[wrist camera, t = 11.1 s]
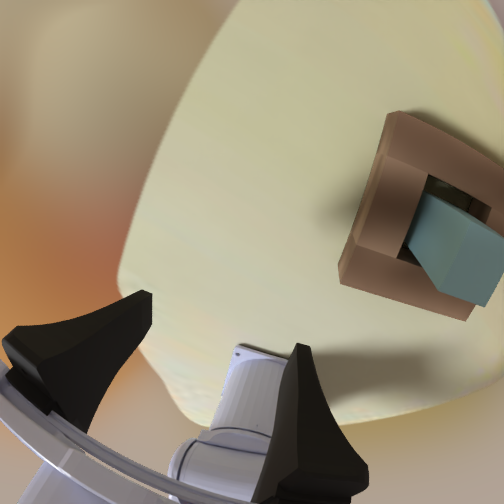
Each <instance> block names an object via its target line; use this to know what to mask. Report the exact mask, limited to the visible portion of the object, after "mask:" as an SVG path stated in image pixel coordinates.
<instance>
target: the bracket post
mask: <svg viewBox="0 0 504 504" xmlns="http://www.w3.org/2000/svg"><path fill="white" fill-rule="evenodd" d="M404 242H405V243H406V244H407V246H408V247H409V249H410V250H411V251H412V253H413V254H414V256H415V257H416V258H417V260H418V261H419V263H420V264H421V266H422V267H423V269H424V270H425V271H426V273H427V274H428V276H429V278H430V279H431V281H432V282H433V284H434V285H435V287H436V288H437V290H438V291H439V292H442V293H445V294H448V295H451V296H454V297H457V298H460V299H462V300H465V301H468V302H471V303H474V304H476V305H479V306H482V307H485V306H486V304H487V302H488V301H489V299H490V297H491V295H492V294H493V292H494V290H495V288H496V286H497V284H498V282H499V281H500V279H501V277H502V275H503V273H504V237H502V236H501V235H500V234H498V233H497V232H496V231H494V230H493V229H491V228H490V227H488V226H487V225H485V224H484V223H482V222H481V221H479V220H478V219H476V218H475V217H473V216H472V215H470V214H469V213H467V212H466V211H464V210H462V209H461V208H459V207H457V206H455V205H453V204H451V203H449V202H447V201H445V200H443V199H441V198H439V197H437V196H435V195H433V194H430V193H428V192H426V191H424V190H423V191H422V194H421V197H420V200H419V203H418V205H417V208H416V211H415V213H414V216H413V219H412V221H411V224H410V226H409V229H408V231H407V234H406V236H405V239H404Z"/></svg>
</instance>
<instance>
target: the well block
mask: <svg viewBox="0 0 504 504" xmlns="http://www.w3.org/2000/svg"><path fill="white" fill-rule="evenodd" d="M428 175H430V176H432V177H434V178H436V179H439V180H441V181H443V182H445V183H447V184H449V185H451V186H452V187H454V188H456V189H458V190H460V191H462V192H464V193H466V194H468V195H469V196H471V197H473V199H472V202H471V204H470V207H469V210H468V213H469V214H470V215H472V216H473V217H475V218H476V219H478V220H479V221H481V222H482V223H484V224H485V225H487V226H488V227H490V228H491V229H493V230H494V231H496V232H497V233H498V234H500V235H501V236H502V237H504V169H503V168H502V167H500V166H499V165H498V164H496V163H495V162H493V161H492V160H490V159H489V158H487V157H486V156H484V155H483V154H481V153H480V152H478V151H476V150H475V149H473V148H471V147H470V146H468V145H466V144H465V143H463V142H461V141H460V140H458V139H456V138H454V137H453V136H451V135H449V134H447V133H445V132H443V131H441V130H439V129H438V128H436V127H434V126H432V125H430V124H428V123H426V122H424V121H421V120H419V119H417V118H415V117H413V116H411V115H408V114H406V113H404V112H402V111H395V112H392V113H389V114H387V116H386V120H385V124H384V128H383V132H382V135H381V139H380V143H379V146H378V150H377V153H376V156H375V160H374V163H373V166H372V170H371V173H370V176H369V179H368V182H367V185H366V189H365V192H364V195H363V198H362V201H361V203H360V206H359V209H358V212H357V215H356V218H355V221H354V223H353V226H352V229H351V232H350V234H349V237H348V240H347V242H346V245H345V247H344V250H343V253H342V255H341V258H340V260H339V263H338V271H339V279H340V284H342V285H346V286H349V287H352V288H356V289H359V290H362V291H365V292H369V293H372V294H375V295H379V296H382V297H385V298H389V299H392V300H395V301H399V302H402V303H405V304H408V305H412V306H415V307H418V308H422V309H425V310H428V311H432V312H435V313H438V314H442V315H445V316H448V317H452V318H455V319H459V320H462V321H465V322H466V320H467V318H468V317H469V315H470V314H471V312H472V310H473V309H474V307H475V305H476V304H474V303H471V302H468V301H465V300H462V299H460V298H457V297H454V296H451V295H448V294H445V293H442V292H439V291H438V290H437V288H436V287H435V285H434V284H433V282H432V281H431V279H430V278H429V276H428V274H427V273H426V271H425V270H424V269H423V267H422V266H421V264H420V263H419V261H418V260H417V258H416V257H415V256H414V254H413V253H412V251H410V250H407V249H405V248H402V247H401V246H402V243H403V241H404V239H405V236H406V234H407V231H408V229H409V226H410V224H411V221H412V219H413V216H414V213H415V211H416V208H417V205H418V203H419V200H420V197H421V194H422V191H423V188H424V185H425V182H426V179H427V176H428Z"/></svg>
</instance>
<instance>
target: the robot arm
mask: <svg viewBox="0 0 504 504" xmlns="http://www.w3.org/2000/svg"><path fill="white" fill-rule="evenodd" d="M151 325H152V293H149V292H147V291H144V290H140V291H137V292H135V293H133V294H131V295H129V296H127V297H125V298H123V299H121V300H119V301H117V302H115V303H113V304H110V305H108V306H106V307H104V308H101V309H99V310H96V311H94V312H92V313H89V314H86V315H83V316H80V317H77V318H74V319H70V320H66V321H61V322H56V323H51V324H44V325H32V326H16V327H15V328H14V329H13V330H12V331H11V332H10V333H9V334H8V335H6V336H5V337H4V338H3V339H2V346H3V348H4V350H5V352H6V354H7V356H8V358H9V360H10V362H11V364H12V366H13V367H12V368H11V369H9V368H8V367H7V366H6V364H5V363H4V362H3V361H2V360H1V359H0V420H1V422H2V423H3V424H4V425H5V426H6V427H7V428H8V429H9V430H10V431H11V432H12V433H13V434H14V435H15V436H16V437H17V438H18V439H19V440H20V441H21V442H23V443H24V444H25V445H26V446H27V447H28V448H29V449H30V450H31V451H33V452H34V453H35V454H36V455H37V456H38V457H40V458H41V459H42V460H43V461H44V463H43V464H42V465H41V467H40V468H39V470H38V471H37V473H36V474H35V476H34V477H33V479H32V480H31V482H30V483H29V485H28V486H27V488H26V490H25V491H24V493H23V494H22V496H21V497H20V499H19V501H18V502H17V504H350V503H351V497H352V496H354V495H356V494H358V493H360V492H362V491H364V490H365V489H366V488H367V487H368V486H369V471H368V465H367V464H366V463H365V462H364V461H363V459H362V458H361V457H360V456H359V455H358V454H357V453H356V451H355V450H354V449H353V447H352V446H351V445H350V443H349V442H348V441H347V439H346V437H345V436H344V434H343V433H342V431H341V429H340V428H339V426H338V424H337V423H336V421H335V419H334V417H333V415H332V413H331V411H330V409H329V406H328V404H327V402H326V399H325V397H324V394H323V391H322V389H321V386H320V383H319V379H318V376H317V373H316V369H315V365H314V361H313V357H312V353H311V348H310V346H307V345H304V344H300V343H296V345H295V348H294V350H293V352H292V354H291V356H290V358H289V360H286V359H283V358H279V357H276V356H273V355H269V354H266V353H263V352H259V351H256V350H253V349H250V348H247V347H244V346H240V345H237V346H235V348H234V351H233V355H232V359H231V362H230V366H229V369H228V373H227V377H226V380H225V384H224V387H223V391H222V394H221V396H222V398H221V400H220V403H219V405H218V408H217V410H216V413H215V415H214V418H213V420H212V423H211V425H210V428H209V430H201V432H200V435H199V437H198V439H197V438H189V439H188V440H186V441H185V442H183V443H182V444H181V445H180V446H179V447H178V448H177V449H176V451H175V453H174V454H173V456H172V459H171V461H170V465H169V468H168V475H167V476H165V475H163V474H161V473H158V472H156V471H154V470H151V469H149V468H147V467H145V466H143V465H141V464H138V463H137V462H134V461H133V460H130V459H128V458H127V457H125V456H123V455H121V454H119V453H117V452H115V451H113V450H112V449H110V448H108V447H106V446H105V445H103V444H101V443H100V442H98V441H96V440H95V439H93V438H92V437H90V436H88V435H87V432H88V429H89V426H90V424H91V422H92V419H93V417H94V415H95V412H96V410H97V408H98V406H99V404H100V402H101V400H102V398H103V396H104V394H105V393H106V391H107V389H108V387H109V385H110V384H111V382H112V380H113V379H114V377H115V375H116V374H117V372H118V371H119V369H120V368H121V367H122V366H123V364H124V363H125V362H126V361H127V359H128V358H129V357H130V356H131V354H132V353H133V351H134V350H135V349H136V348H137V347H138V345H139V344H140V343H141V341H142V340H143V339H144V337H145V335H146V334H147V332H148V330H149V329H150V327H151ZM238 353H240V354H238ZM75 444H76V445H75ZM78 446H79V447H80V448H82V449H83V450H85V451H86V452H88V453H89V454H91V455H93V456H94V457H96V458H98V459H99V460H101V461H102V462H104V463H106V464H108V465H109V466H111V467H113V468H115V469H117V470H119V471H120V472H122V473H124V474H126V475H128V476H130V477H132V478H134V479H136V480H138V481H140V482H142V483H144V484H147V485H149V486H151V487H153V488H156V489H158V490H160V491H163V492H165V493H168V494H169V499H168V498H166V497H164V496H161V495H159V494H157V493H155V492H153V491H151V490H149V489H147V488H145V487H143V486H141V485H139V484H137V483H134V482H133V481H130V480H128V479H127V478H125V477H123V476H121V475H119V474H117V473H115V472H113V471H112V470H110V469H108V468H106V467H104V466H103V465H101V464H100V463H98V462H96V461H94V460H93V459H91V458H90V457H88V456H86V454H85V452H84V451H83V450H82V449H80V448H79V447H78Z"/></svg>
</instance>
